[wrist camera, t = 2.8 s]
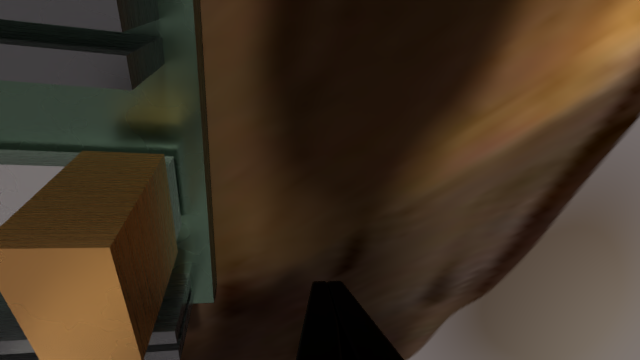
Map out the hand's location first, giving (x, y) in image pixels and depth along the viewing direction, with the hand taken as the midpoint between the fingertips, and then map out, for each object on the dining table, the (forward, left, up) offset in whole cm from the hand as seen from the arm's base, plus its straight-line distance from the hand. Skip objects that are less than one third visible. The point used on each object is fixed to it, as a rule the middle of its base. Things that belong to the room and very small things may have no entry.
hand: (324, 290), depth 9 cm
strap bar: (+12, 0, -5) cm, 13 cm away
